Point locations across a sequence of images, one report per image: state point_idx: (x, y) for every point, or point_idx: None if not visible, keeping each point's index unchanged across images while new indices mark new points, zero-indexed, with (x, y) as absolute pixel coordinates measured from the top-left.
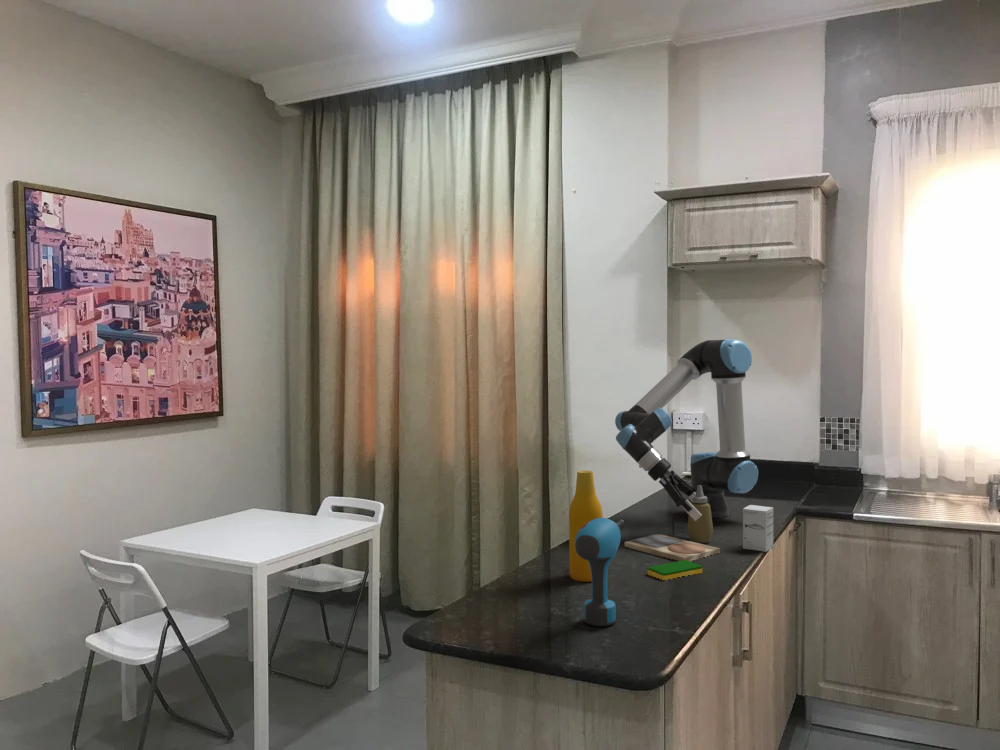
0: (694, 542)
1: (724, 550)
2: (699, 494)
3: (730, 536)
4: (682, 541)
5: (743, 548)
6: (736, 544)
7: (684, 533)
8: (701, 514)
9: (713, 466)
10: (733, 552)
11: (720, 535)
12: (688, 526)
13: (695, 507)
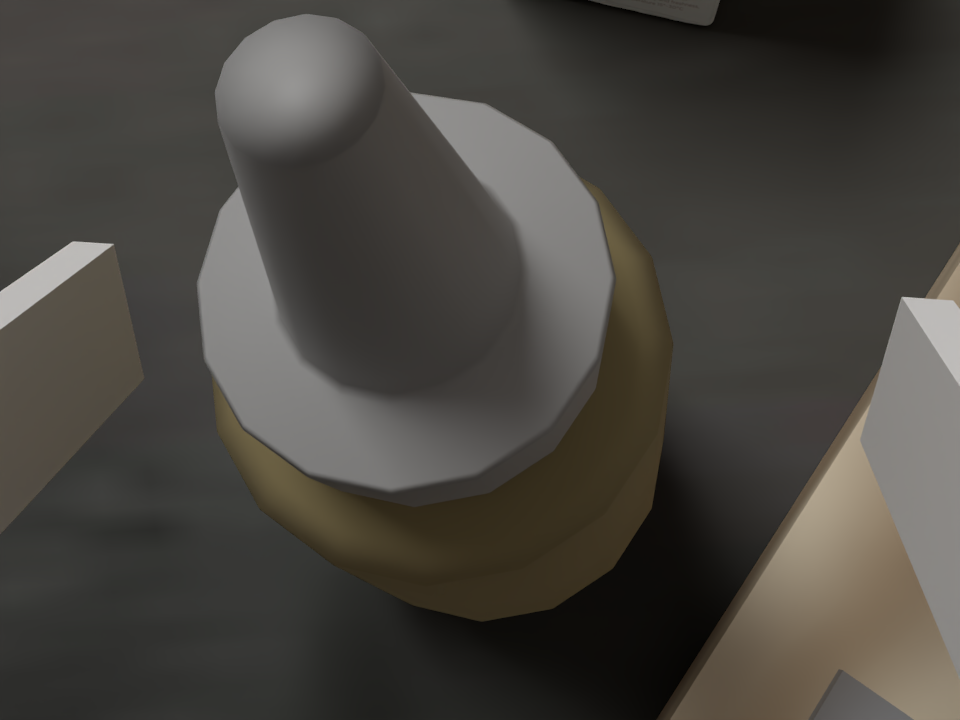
0: (812, 500)
1: (824, 187)
2: (497, 238)
3: (206, 169)
4: (810, 660)
5: (712, 20)
6: (534, 96)
7: (132, 676)
8: (903, 304)
9: None
10: (876, 101)
11: (177, 266)
12: (561, 597)
13: (657, 426)
